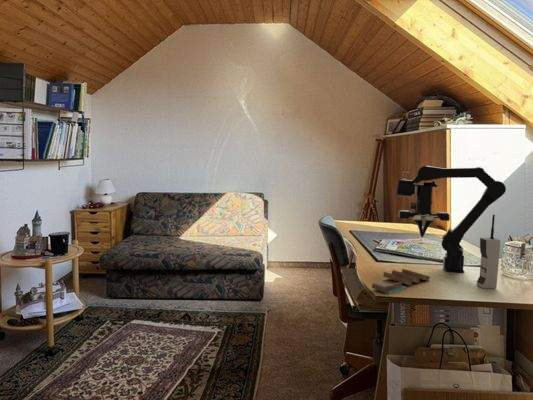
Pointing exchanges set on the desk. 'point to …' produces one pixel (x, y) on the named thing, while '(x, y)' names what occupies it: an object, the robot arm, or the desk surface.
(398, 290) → the domino
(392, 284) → the domino
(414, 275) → the domino
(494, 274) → the vintage mobile phone
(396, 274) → the domino
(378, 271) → the desk surface
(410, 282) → the domino
